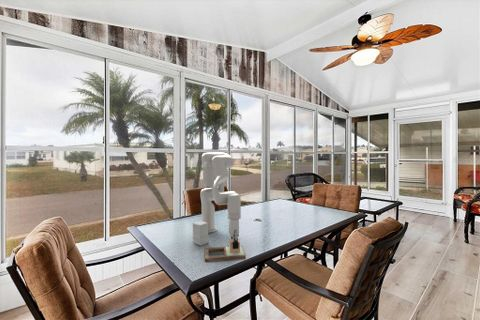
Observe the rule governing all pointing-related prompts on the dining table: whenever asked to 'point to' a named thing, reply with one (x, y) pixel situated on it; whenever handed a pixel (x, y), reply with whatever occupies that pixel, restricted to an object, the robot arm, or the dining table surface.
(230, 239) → the terracotta cube
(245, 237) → the dining table surface
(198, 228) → the small box
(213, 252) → the hole board
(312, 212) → the dining table surface
